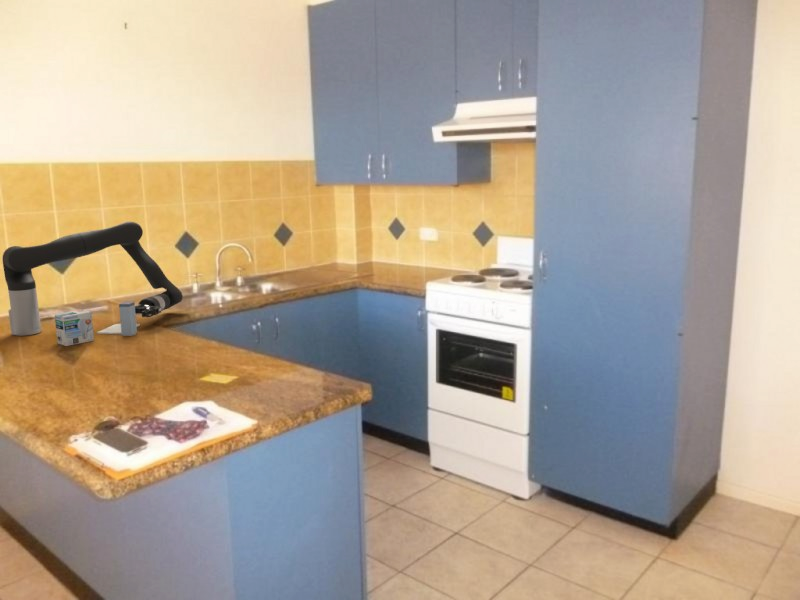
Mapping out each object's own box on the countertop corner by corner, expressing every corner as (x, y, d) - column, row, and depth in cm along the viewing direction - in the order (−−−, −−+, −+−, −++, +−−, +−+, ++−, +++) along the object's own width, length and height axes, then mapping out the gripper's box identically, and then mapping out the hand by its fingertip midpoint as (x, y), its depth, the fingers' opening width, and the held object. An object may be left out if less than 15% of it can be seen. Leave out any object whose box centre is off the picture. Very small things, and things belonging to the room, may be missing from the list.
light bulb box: (66, 346, 236) (62, 316, 234) (56, 344, 240) (53, 314, 238) (95, 340, 245) (92, 311, 243) (85, 337, 249) (82, 309, 247)
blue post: (121, 335, 251) (118, 304, 249) (127, 333, 255) (124, 302, 253) (132, 335, 251) (129, 304, 248) (137, 333, 254) (134, 302, 252)
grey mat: (96, 333, 254) (96, 332, 254) (116, 325, 268) (115, 323, 268) (122, 334, 253) (121, 332, 253) (140, 325, 267) (139, 324, 267)
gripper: (134, 296, 270) (113, 304, 255) (168, 296, 269) (149, 304, 253) (135, 314, 272) (115, 323, 256) (169, 315, 270) (150, 324, 255)
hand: (132, 314), depth 255 cm, fingers open, 8 cm apart
